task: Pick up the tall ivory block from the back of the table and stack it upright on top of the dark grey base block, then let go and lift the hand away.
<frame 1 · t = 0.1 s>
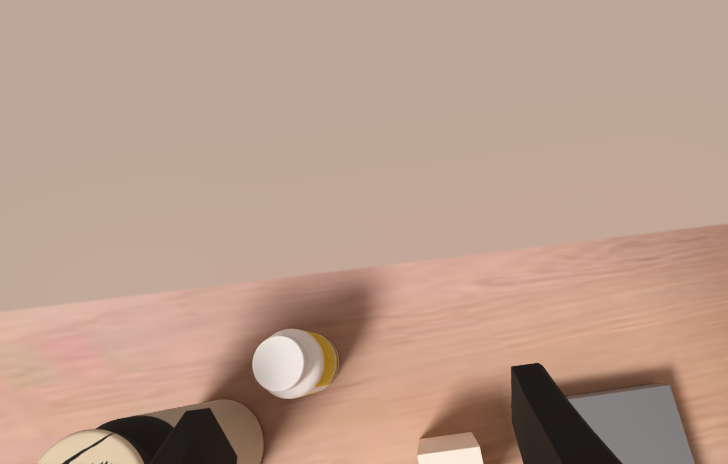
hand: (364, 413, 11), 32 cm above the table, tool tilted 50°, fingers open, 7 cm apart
ivory block: (450, 463, 39), on the table
supplement bottle: (311, 362, 43), on the table
travel mug: (223, 444, 43), on the table
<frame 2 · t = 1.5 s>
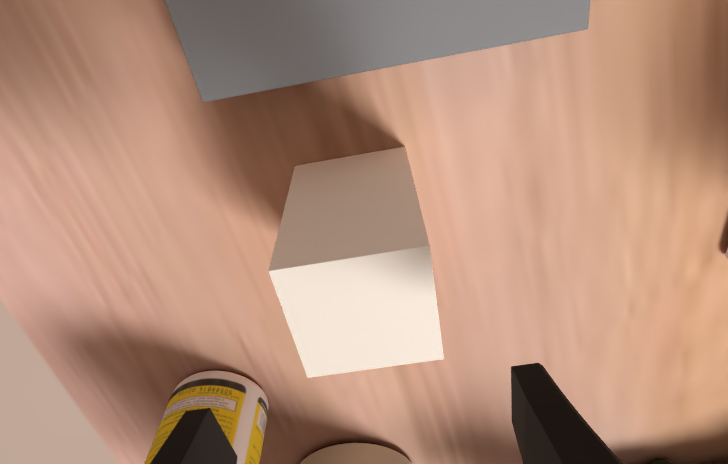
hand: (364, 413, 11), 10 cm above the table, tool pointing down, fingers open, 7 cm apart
ivory block: (359, 204, 20), on the table
supplement bottle: (223, 396, 27), on the table
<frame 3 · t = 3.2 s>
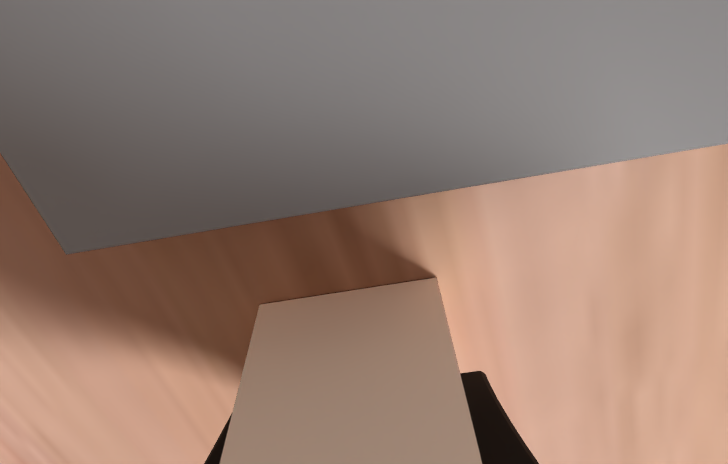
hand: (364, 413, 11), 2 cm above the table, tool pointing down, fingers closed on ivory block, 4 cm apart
ivory block: (362, 353, 13), on the table, touching gripper
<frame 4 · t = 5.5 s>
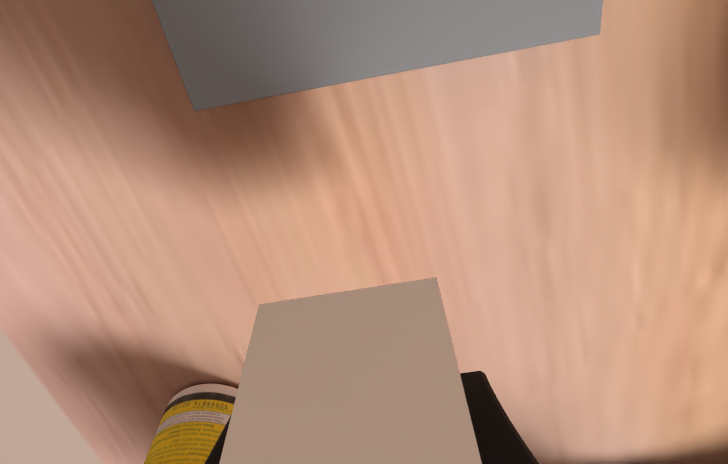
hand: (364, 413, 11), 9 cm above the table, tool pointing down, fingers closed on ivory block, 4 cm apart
ivory block: (362, 353, 13), point 7 cm above the table, touching gripper
supplement bottle: (219, 409, 26), on the table
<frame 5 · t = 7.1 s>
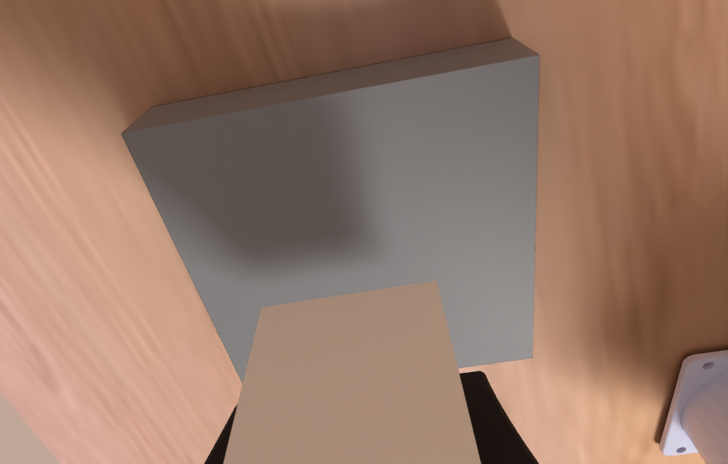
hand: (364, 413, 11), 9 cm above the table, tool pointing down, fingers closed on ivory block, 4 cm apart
base block: (360, 226, 18), on the table
ivory block: (363, 355, 13), point 7 cm above the table, touching gripper
when the fingers open (5 cm above the table, at t = 8.2 s): ivory block stays where it is, resting on base block.
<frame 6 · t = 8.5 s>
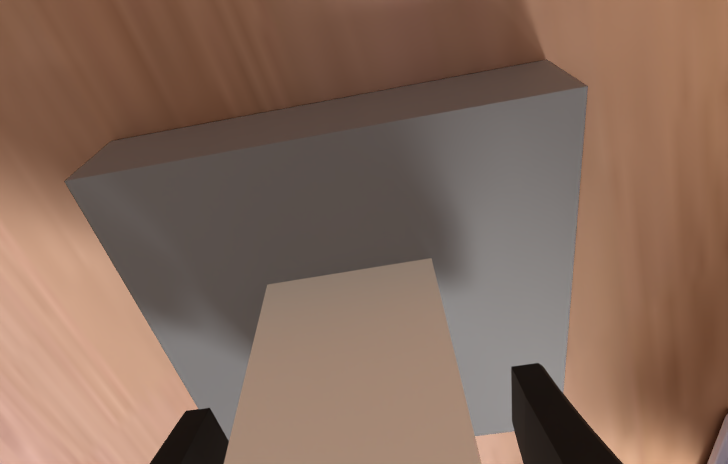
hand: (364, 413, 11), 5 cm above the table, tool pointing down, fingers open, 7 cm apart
base block: (360, 275, 16), on the table
ivory block: (363, 331, 14), point 2 cm above the table, touching base block
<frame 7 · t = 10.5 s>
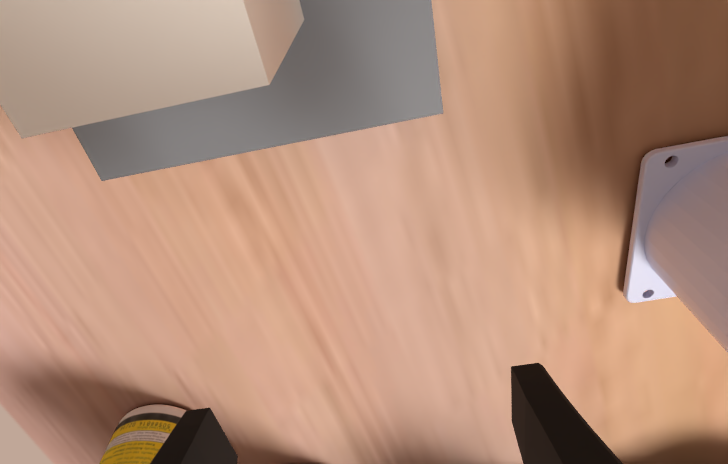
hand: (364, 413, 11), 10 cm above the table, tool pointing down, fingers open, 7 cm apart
supplement bottle: (168, 426, 28), on the table
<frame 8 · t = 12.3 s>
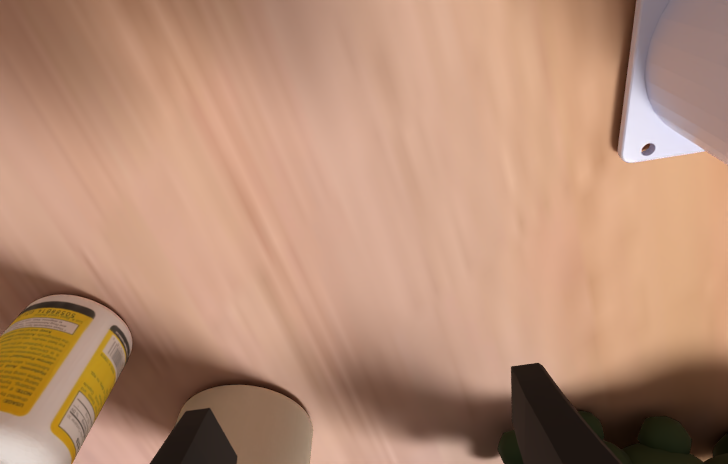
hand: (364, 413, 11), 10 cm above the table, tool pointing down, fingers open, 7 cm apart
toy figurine: (625, 434, 30), on the table
supplement bottle: (83, 327, 24), on the table
travel mug: (248, 419, 28), on the table
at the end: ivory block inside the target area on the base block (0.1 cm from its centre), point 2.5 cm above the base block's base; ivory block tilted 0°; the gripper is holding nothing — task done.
